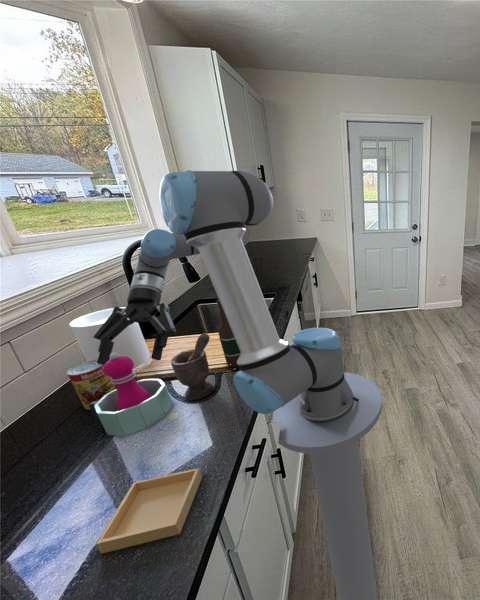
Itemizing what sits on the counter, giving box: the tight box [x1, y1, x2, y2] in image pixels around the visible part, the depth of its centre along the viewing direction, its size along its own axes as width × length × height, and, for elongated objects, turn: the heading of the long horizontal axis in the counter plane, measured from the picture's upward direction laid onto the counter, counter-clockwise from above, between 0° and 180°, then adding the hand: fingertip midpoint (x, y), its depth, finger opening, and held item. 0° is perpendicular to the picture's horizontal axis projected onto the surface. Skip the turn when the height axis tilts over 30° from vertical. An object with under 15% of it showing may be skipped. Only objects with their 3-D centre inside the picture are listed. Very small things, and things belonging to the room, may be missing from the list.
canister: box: [69, 306, 153, 374], centre depth 108 cm, size 16×16×20 cm
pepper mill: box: [103, 353, 151, 411], centre depth 84 cm, size 7×7×20 cm
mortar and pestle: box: [170, 333, 214, 402], centre depth 92 cm, size 12×9×20 cm
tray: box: [95, 467, 203, 555], centre depth 60 cm, size 12×12×3 cm
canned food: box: [66, 360, 117, 411], centre depth 92 cm, size 8×8×12 cm
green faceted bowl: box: [89, 378, 174, 436], centre depth 86 cm, size 17×15×7 cm
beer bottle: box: [216, 298, 241, 368], centre depth 107 cm, size 8×8×24 cm
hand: (129, 361), depth 85 cm, fingers open, 13 cm apart
